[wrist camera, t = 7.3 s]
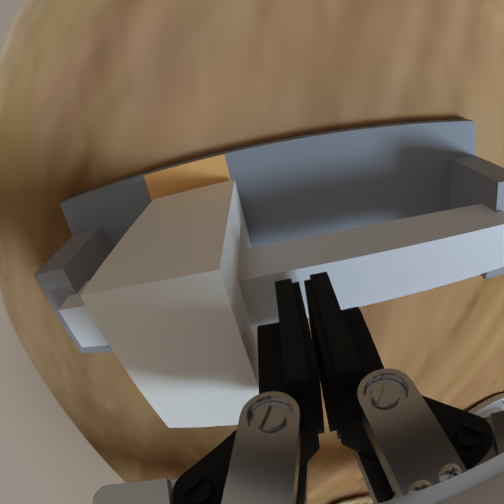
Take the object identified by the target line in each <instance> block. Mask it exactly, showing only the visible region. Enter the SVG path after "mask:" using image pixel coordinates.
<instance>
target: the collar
mask: <svg viewBox="0 0 504 504" xmlns="http://www.w3.org/2000/svg"><path fill="white" fill-rule="evenodd" d="M249 248H252V247H251V243H250V239H249V235H248V231H247V227H246V223H245V219H244V215H243V211H242V207H241V202H240V198H239V194H238V190H237V186H236V182H235V179H234V180H230V181H225V182H221V183H216V184H212V185H208V186H204V187H200V188H195V189H191V190H187V191H183V192H179V193H175V194H172V195H168V196H164V197H160V198H156V199H153V200H152V202H151V203H150V204H149V205H148V206H147V208H146V209H145V210H144V211H143V212H142V214H141V215H140V216H139V217H138V218H137V220H136V221H135V222H134V223H133V225H132V226H131V227H130V228H129V230H128V231H127V232H126V233H125V235H124V236H123V237H122V238H121V240H120V241H119V242H118V244H117V245H116V246H115V248H114V249H113V250H112V251H111V253H110V254H109V255H108V257H107V258H106V259H105V261H104V262H103V263H102V265H101V266H100V267H99V269H98V270H97V272H96V273H95V274H94V276H93V277H92V278H91V280H90V281H89V283H88V284H87V285H86V287H85V288H84V290H83V291H82V293H81V294H80V296H81V298H82V300H83V302H84V304H85V305H86V307H87V309H88V311H89V312H90V314H91V316H92V318H93V319H94V321H95V323H96V325H97V326H98V328H99V330H100V331H101V333H102V334H103V336H104V338H105V339H106V341H107V343H108V344H109V346H110V347H111V349H112V350H113V352H114V353H115V355H116V357H117V358H118V360H119V361H120V363H121V364H122V366H123V367H124V369H125V370H126V371H127V373H128V374H129V376H130V377H131V379H132V380H133V381H134V383H135V384H136V386H137V387H138V388H139V390H140V391H141V393H142V394H143V395H144V397H145V398H146V399H147V401H148V402H149V403H150V405H151V406H152V407H153V408H154V410H155V411H156V412H157V414H158V415H159V416H160V417H161V419H162V420H163V421H164V422H165V424H166V425H167V426H168V427H169V428H188V427H211V426H226V425H238V422H239V417H240V413H241V411H242V408H243V406H244V405H245V404H246V403H247V402H248V401H249V400H250V399H251V398H253V397H254V396H256V395H259V380H258V341H257V327H253V328H252V327H251V324H250V321H249V317H248V314H247V311H246V307H245V304H244V300H243V297H242V294H241V290H240V287H239V283H238V280H237V268H238V253H239V250H244V249H249Z"/></svg>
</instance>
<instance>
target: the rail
mask: <svg viewBox="0 0 504 504" xmlns="http://www.w3.org/2000/svg"><path fill="white" fill-rule="evenodd" d="M234 179H235V182H236V186H237V190H238V194H239V198H240V202H241V207H242V211H243V215H244V219H245V223H246V227H247V231H248V235H249V239H250V243H251V247H252V248H249V249H244V250H239V253H238V268H237V280H238V283H239V287H240V290H241V294H242V297H243V300H244V304H245V307H246V311H247V314H248V317H249V321H250V324H251V327H252V328H253V327H258V326H259V325H265V324H271V323H277V322H279V316H278V307H277V299H276V290H275V281H280V280H285V279H292V283H294V282H299V284H300V289H301V293H302V297H303V302H304V306H305V311H306V315H307V318H309V313H308V306H307V299H306V292H305V285H304V280H309V279H310V275H311V274H317V273H322V272H327V274H328V276H329V279H330V281H331V284H332V287H333V289H334V292H335V295H336V297H337V300H338V303H339V305H340V308H341V310H344V309H348V308H353V307H360V306H365V305H369V304H373V303H378V302H382V301H386V300H390V299H394V298H398V297H402V296H406V295H410V294H414V293H417V292H421V291H425V290H428V289H432V288H436V287H439V286H443V285H446V284H450V283H453V282H457V281H460V280H463V279H467V278H470V277H473V276H476V275H480V274H481V275H482V276H483V278H484V279H485V280H486V279H489V278H492V277H495V276H498V275H501V274H504V168H502V167H500V166H498V165H495V164H493V163H491V162H489V161H486V160H484V159H482V158H479V157H477V156H476V146H475V124H474V121H472V120H468V119H450V120H430V121H415V122H403V123H391V124H381V125H372V126H364V127H355V128H348V129H340V130H333V131H327V132H320V133H314V134H308V135H302V136H296V137H290V138H285V139H279V140H274V141H269V142H264V143H259V144H254V145H250V146H245V147H240V148H236V149H231V150H227V151H223V152H219V153H214V154H210V155H206V156H202V157H198V158H194V159H191V160H187V161H183V162H179V163H176V164H172V165H168V166H165V167H161V168H158V169H155V170H151V171H148V172H144V173H141V174H138V175H135V176H131V177H128V178H125V179H122V180H119V181H116V182H113V183H110V184H107V185H104V186H101V187H98V188H95V189H92V190H89V191H87V192H84V193H81V194H78V195H76V196H73V197H70V198H68V199H66V200H64V201H63V202H61V203H60V206H61V209H62V212H63V214H64V217H65V219H66V221H67V224H68V226H69V229H70V231H71V233H72V237H71V238H70V239H69V240H68V241H67V242H66V243H65V244H64V245H63V246H62V247H61V248H60V249H59V250H58V251H57V252H56V253H55V254H54V255H53V256H52V257H51V258H50V259H49V260H48V261H47V262H46V263H45V264H44V265H43V266H42V267H41V268H40V269H39V270H38V271H37V273H36V274H35V277H36V279H37V281H38V283H39V285H40V287H41V288H42V290H43V292H44V294H45V296H46V297H47V299H48V301H49V303H50V304H51V306H52V308H53V310H54V311H55V313H56V315H57V316H58V318H59V320H60V321H61V323H62V324H63V326H64V328H65V329H66V331H67V332H68V334H69V335H70V337H71V338H72V340H73V341H74V343H75V344H76V346H77V347H78V349H79V350H80V352H81V353H99V352H111V350H112V349H111V347H110V346H109V344H108V343H107V341H106V339H105V338H104V336H103V334H102V333H101V331H100V330H99V328H98V326H97V325H96V323H95V321H94V319H93V318H92V316H91V314H90V312H89V311H88V309H87V307H86V305H85V304H84V302H83V300H82V298H81V296H80V294H81V293H82V291H83V290H84V288H85V287H86V285H87V284H88V283H89V281H90V280H91V278H92V277H93V276H94V274H95V273H96V272H97V270H98V269H99V267H100V266H101V265H102V263H103V262H104V261H105V259H106V258H107V257H108V255H109V254H110V253H111V251H112V250H113V249H114V248H115V246H116V245H117V244H118V242H119V241H120V240H121V238H122V237H123V236H124V235H125V233H126V232H127V231H128V230H129V228H130V227H131V226H132V225H133V223H134V222H135V221H136V220H137V218H138V217H139V216H140V215H141V214H142V212H143V211H144V210H145V209H146V208H147V206H148V205H149V204H150V203H151V202H152V200H153V199H156V198H160V197H164V196H168V195H172V194H175V193H179V192H183V191H187V190H191V189H195V188H200V187H204V186H208V185H212V184H216V183H221V182H225V181H230V180H234Z"/></svg>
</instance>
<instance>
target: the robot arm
mask: <svg viewBox="0 0 504 504" xmlns="http://www.w3.org/2000/svg"><path fill="white" fill-rule="evenodd" d="M304 285H305V292H306V299H307V306H308V313H309V320H310V328H311V333H310V329H309V324H308V320H307V315H306V311H305V306H304V302H303V297H302V293H301V289H300V284H299V282H294V283H292V279H285V280H280V281H275V290H276V299H277V307H278V316H279V322H277V323H271V324H265V325H259V326H258V327H257V341H258V380H259V395H256V396H254V397H253V398H251V399H250V400H249V401H248V402H247V403H246V404H245V405H244V406H243V408H242V411H241V413H240V417H239V422H238V427H237V430H235V431H234V432H233V433H232V434H231V435H230V436H229V437H227V438H226V439H225V440H224V441H223V442H222V443H221V444H219V445H218V446H217V447H216V448H215V449H213V450H212V451H211V452H210V453H209V454H207V455H206V456H205V457H204V458H203V459H201V460H200V461H199V462H198V463H196V464H195V465H194V466H193V467H191V468H190V469H189V470H188V471H186V472H185V473H184V474H182V475H181V476H180V477H179V478H178V479H174V480H168V479H167V478H164V479H157V480H150V481H142V482H133V483H123V484H110V485H106V486H103V487H102V488H100V489H99V490H98V491H97V492H96V494H95V495H94V499H93V504H306V503H307V491H308V477H309V460H310V458H311V457H312V456H313V455H314V454H315V453H316V452H317V451H318V450H319V448H320V447H319V438H318V434H321V433H324V420H323V409H322V398H321V388H322V393H323V398H324V403H325V408H326V413H327V419H328V424H329V429H330V432H331V431H336V430H337V435H338V439H341V442H342V444H343V445H345V446H347V447H349V448H351V449H353V452H354V455H355V458H356V460H357V463H358V465H359V468H360V470H361V473H362V475H363V478H364V480H365V482H366V485H367V487H368V490H369V492H370V495H371V497H372V500H373V502H374V504H504V393H500V394H498V395H495V396H493V397H491V398H489V399H487V400H485V401H483V402H481V403H480V404H478V405H476V406H475V407H473V408H472V409H470V410H469V411H467V412H466V411H463V410H461V409H458V408H455V407H452V406H449V405H446V404H444V403H441V402H438V401H435V400H433V399H430V398H427V397H425V396H422V395H421V394H420V392H419V391H418V389H417V388H416V386H415V385H414V383H413V381H412V380H411V379H410V378H409V377H408V376H407V375H406V374H405V373H403V372H401V371H399V370H395V369H384V367H383V364H382V362H381V359H380V357H379V354H378V352H377V349H376V347H375V344H374V342H373V339H372V337H371V335H370V332H369V330H368V328H367V325H366V323H365V320H364V318H363V316H362V313H361V311H360V309H359V308H358V307H353V308H348V309H344V310H341V308H340V305H339V303H338V300H337V297H336V295H335V292H334V289H333V287H332V284H331V281H330V279H329V276H328V274H327V272H322V273H317V274H311V275H310V279H309V280H304ZM311 335H312V338H311ZM319 378H320V379H319ZM320 383H321V387H320Z"/></svg>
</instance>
